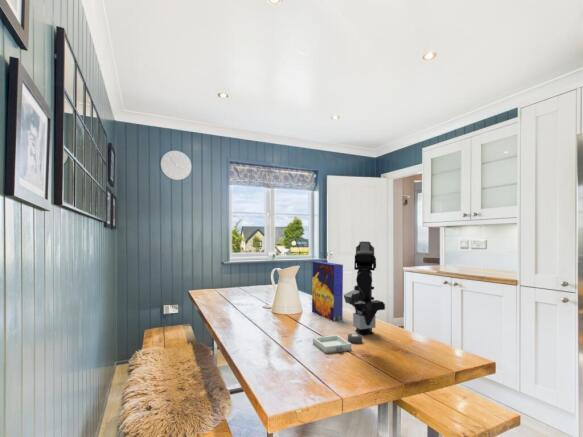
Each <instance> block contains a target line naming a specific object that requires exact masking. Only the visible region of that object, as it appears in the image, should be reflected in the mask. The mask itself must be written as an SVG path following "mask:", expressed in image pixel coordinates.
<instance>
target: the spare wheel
mask: <svg viewBox="0 0 583 437" xmlns="http://www.w3.org/2000/svg"><path fill="white" fill-rule="evenodd" d="M347 341H348V342H349V343H351V344H354V345H355V344H356V345H358V344H362V343H363V335H362V334H360V333H348V335H347Z"/></svg>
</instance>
